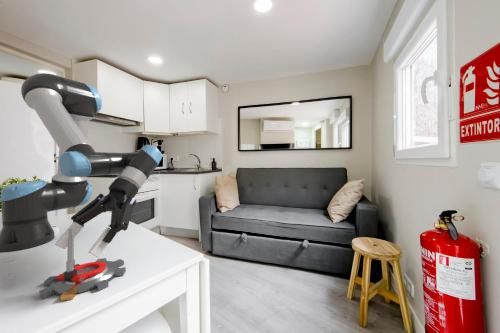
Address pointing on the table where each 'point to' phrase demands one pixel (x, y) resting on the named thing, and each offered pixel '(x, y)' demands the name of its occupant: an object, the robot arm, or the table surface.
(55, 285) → the sprocket plate
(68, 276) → the tow hook
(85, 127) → the robot arm
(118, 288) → the table surface
